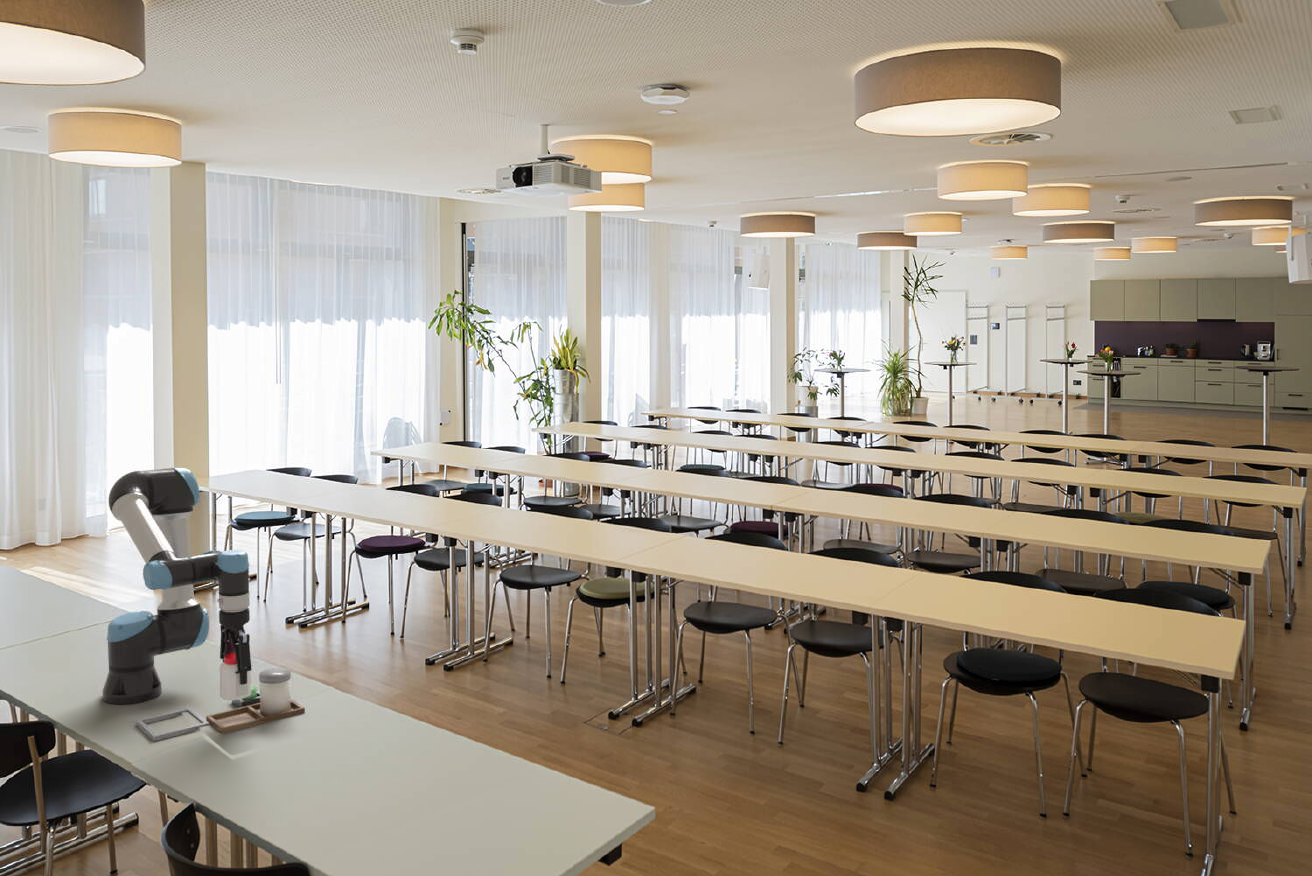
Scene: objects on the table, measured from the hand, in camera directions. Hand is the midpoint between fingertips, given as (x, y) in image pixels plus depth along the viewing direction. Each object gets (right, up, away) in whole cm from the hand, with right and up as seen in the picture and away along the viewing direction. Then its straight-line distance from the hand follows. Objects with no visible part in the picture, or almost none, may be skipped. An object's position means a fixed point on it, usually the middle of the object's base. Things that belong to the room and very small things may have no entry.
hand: (236, 690), depth 268 cm
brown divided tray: (+4, -9, +5) cm, 11 cm away
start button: (-2, -7, +14) cm, 16 cm away
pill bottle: (0, -1, 0) cm, 1 cm away
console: (-2, -8, +14) cm, 16 cm away
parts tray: (-16, -9, -1) cm, 19 cm away
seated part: (+7, -8, +9) cm, 14 cm away
